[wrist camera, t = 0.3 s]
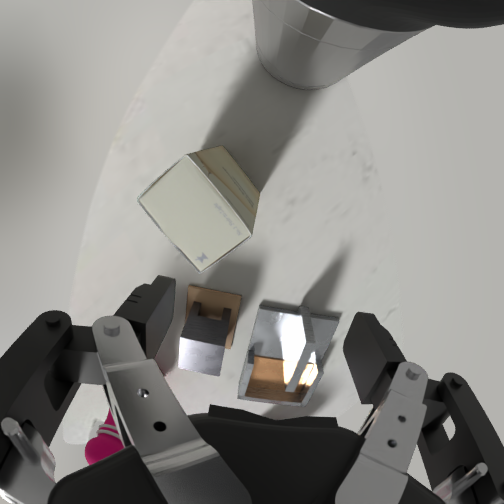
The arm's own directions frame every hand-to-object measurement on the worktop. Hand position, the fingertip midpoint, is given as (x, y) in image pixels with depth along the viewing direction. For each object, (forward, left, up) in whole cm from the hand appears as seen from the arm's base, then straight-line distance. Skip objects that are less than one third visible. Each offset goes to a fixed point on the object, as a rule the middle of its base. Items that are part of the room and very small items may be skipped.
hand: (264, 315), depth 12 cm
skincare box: (-2, -4, -18) cm, 18 cm away
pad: (+14, -3, -17) cm, 23 cm away
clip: (+14, -3, -17) cm, 22 cm away
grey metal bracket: (+17, +7, -17) cm, 25 cm away
